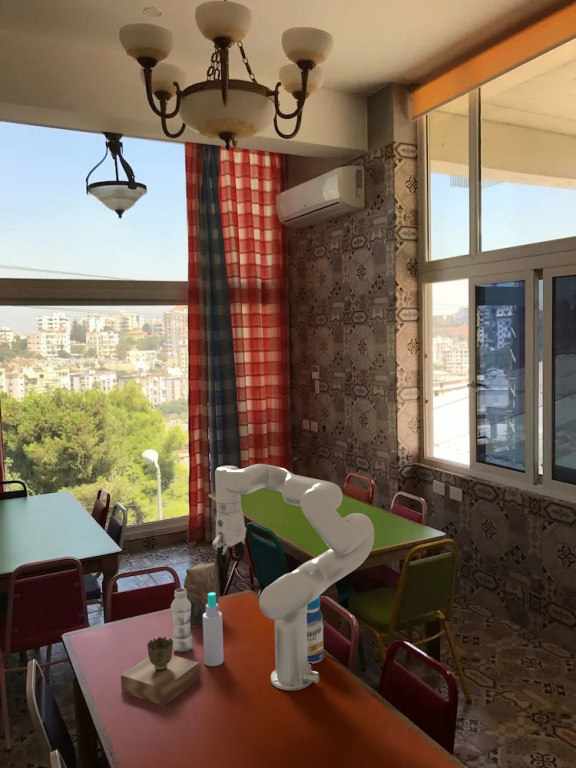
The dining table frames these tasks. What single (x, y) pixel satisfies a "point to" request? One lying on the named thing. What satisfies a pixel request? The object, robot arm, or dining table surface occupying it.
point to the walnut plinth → (160, 680)
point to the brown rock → (200, 589)
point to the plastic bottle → (181, 621)
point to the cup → (160, 652)
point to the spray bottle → (212, 633)
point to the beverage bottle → (314, 632)
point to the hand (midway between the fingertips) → (231, 561)
